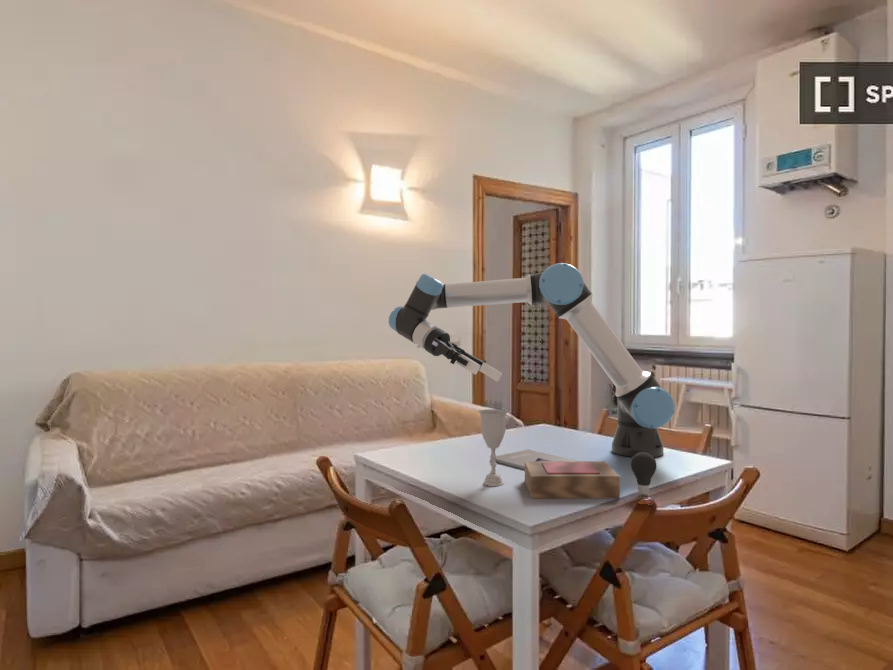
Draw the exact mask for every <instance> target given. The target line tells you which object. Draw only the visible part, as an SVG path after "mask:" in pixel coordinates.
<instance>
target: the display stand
mask: <svg viewBox="0 0 893 670" xmlns="http://www.w3.org/2000/svg"><path fill="white" fill-rule="evenodd" d="M620 480H621V476H620V475H619V474H618V473H617V472H616V471H615V470H614V469H613V468H612V467H611V466H610V465H609V464H608V463H607V462H606V461H600V460H599V461H598V460H597V461H596V460H594V461H591V460H590V461H589V460H588V461H587V460H586V461H584V460H583V461H580V460H576V461H525V470H524V483H525V485H526V488H527V491H528V492H529V495H530V498H531V499H620V497H621V496H620V495H621V494H620V493H621V487H620V485H621V484H620V483H621V481H620Z"/></svg>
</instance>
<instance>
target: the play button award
mask: <svg viewBox="0 0 893 670" xmlns="http://www.w3.org/2000/svg"><path fill="white" fill-rule="evenodd" d="M496 456H497V457H496V459H495V462H497V463H496V464H501V465H503V466H504V465H505V466H508V467H512V468H516V469H519V470H524V471H525V461H577V460H576V459H572V458H568V457H564V456H557V455H554V454H551V453H545V452H542V451H537V450H533V449H523V450H519V451H515V452H510V453H504V454H501V455H496ZM489 457H490V456H489ZM490 462H491V457H490Z"/></svg>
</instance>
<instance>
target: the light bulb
mask: <svg viewBox="0 0 893 670" xmlns="http://www.w3.org/2000/svg"><path fill="white" fill-rule="evenodd" d="M657 466H658V465H657V461H656V459H655V457H653V456H651V455H650V454H648V453H645V452H640V453H637V454H636V455H634V456H633V457H632V458H631V460H630V468H631V471H632V473H633V475H634V476H635V479H636V483H637V492H638V493H639V494H640V495H641V496H642V497H646V496H647V495H648V494H650V484H651V481H652V479H653V476H654V475H655V473H656V471H657Z"/></svg>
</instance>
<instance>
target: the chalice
mask: <svg viewBox="0 0 893 670" xmlns="http://www.w3.org/2000/svg"><path fill="white" fill-rule="evenodd" d="M478 413H479V415H480V432H481V435H482V439H483V440H484V443H485V444H486V446H487V448H489V449H490V451H491V452H490V456H489V457H491V461H490V463H489V465H490V467H491V470H490V472H489V473H486V476H485V478H484V481H483V483H484V484H483V485H485V486H487V485H488V487H498V486H499V487H500V486H502V485H504V484H505V483H504V481H503V479H502V476H501V475H500V474H499V473H498V472H497V471H496V466H497V465H498V463H496V462H495V459H496V457H497V456H498V455H496V449H498V448H499V447H500V446H501V443H502V442H503V439H504V436H505V433H506V415H507V414H508V411H507V410H504V409H491V408H490V409H489V408H488V409H481V410H478Z"/></svg>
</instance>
